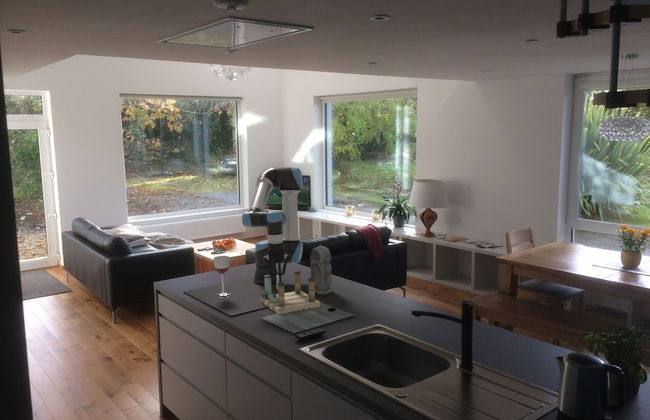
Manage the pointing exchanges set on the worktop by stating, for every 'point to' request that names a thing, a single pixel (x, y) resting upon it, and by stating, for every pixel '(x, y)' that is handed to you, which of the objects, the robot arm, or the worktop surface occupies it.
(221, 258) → the wineglass
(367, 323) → the worktop surface
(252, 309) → the worktop surface
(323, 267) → the figurine
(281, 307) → the stool
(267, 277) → the folding leg
